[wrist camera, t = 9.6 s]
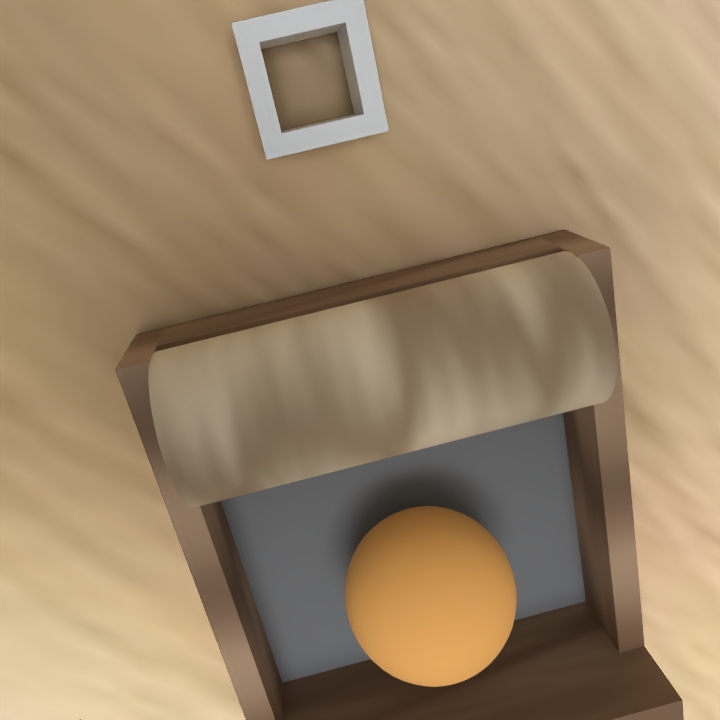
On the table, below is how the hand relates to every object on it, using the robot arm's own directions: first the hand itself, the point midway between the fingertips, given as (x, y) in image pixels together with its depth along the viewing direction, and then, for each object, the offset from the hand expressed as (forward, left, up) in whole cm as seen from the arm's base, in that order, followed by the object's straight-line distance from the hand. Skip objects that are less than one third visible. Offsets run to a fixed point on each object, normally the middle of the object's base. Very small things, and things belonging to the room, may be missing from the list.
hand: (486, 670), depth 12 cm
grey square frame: (-10, 0, -14) cm, 17 cm away
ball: (+7, 0, -11) cm, 13 cm away
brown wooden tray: (+5, 0, -14) cm, 15 cm away
